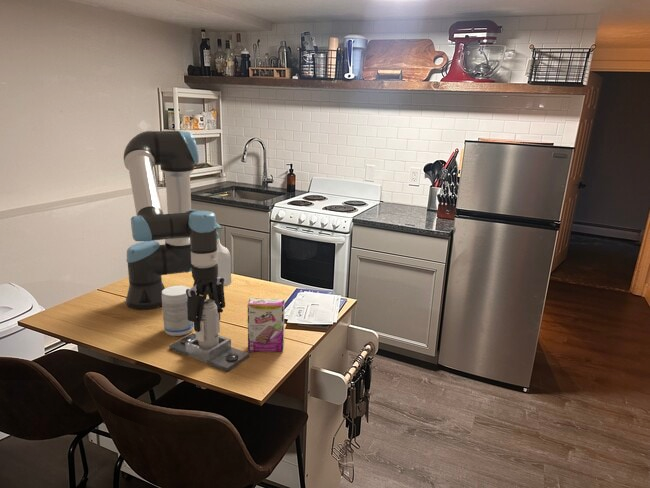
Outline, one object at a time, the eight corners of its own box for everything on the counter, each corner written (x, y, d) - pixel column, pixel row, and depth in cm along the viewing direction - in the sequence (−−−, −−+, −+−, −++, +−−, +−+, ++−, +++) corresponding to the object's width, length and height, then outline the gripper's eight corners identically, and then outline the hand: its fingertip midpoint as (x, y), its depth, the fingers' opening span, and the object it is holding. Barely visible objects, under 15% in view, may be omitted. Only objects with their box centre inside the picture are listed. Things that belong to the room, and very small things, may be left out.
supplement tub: (195, 334, 156) (193, 293, 152) (166, 339, 152) (163, 297, 148) (191, 322, 165) (188, 283, 161) (162, 326, 161) (159, 287, 157)
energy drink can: (221, 348, 143) (219, 303, 139) (202, 353, 140) (199, 307, 136) (215, 340, 148) (213, 296, 144) (196, 344, 145) (193, 300, 141)
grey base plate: (169, 349, 147) (168, 337, 145) (192, 336, 155) (192, 325, 154) (227, 371, 135) (226, 359, 134) (249, 356, 143) (249, 345, 142)
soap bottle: (212, 291, 192) (209, 227, 185) (200, 286, 197) (197, 223, 190) (234, 284, 200) (232, 222, 192) (222, 279, 205) (219, 219, 198)
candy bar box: (247, 352, 146) (246, 304, 141) (249, 344, 151) (248, 297, 146) (283, 353, 146) (283, 304, 141) (284, 345, 151) (284, 298, 146)
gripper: (189, 276, 127) (194, 352, 134) (236, 258, 143) (238, 326, 149) (170, 270, 131) (175, 344, 137) (217, 253, 146) (220, 321, 153)
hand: (208, 335), depth 143 cm, fingers closed on energy drink can, 6 cm apart
